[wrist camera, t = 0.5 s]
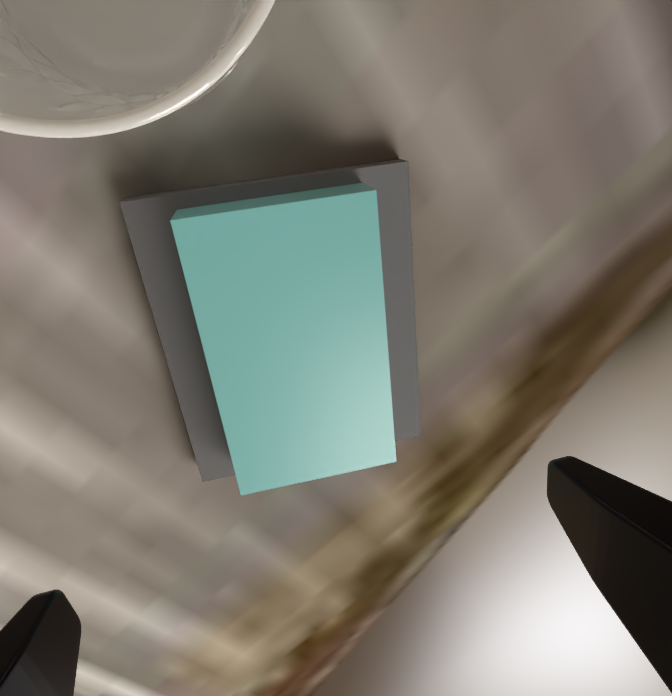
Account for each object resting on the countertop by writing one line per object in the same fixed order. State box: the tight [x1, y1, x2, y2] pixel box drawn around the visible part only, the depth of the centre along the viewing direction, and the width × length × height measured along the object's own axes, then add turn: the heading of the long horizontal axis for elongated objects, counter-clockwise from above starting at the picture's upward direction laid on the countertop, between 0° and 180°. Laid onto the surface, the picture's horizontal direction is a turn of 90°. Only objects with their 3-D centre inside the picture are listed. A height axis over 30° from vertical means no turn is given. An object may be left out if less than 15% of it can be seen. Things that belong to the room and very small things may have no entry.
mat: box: [119, 159, 421, 482], centre depth 20 cm, size 10×12×1 cm
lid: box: [170, 183, 396, 495], centre depth 19 cm, size 6×11×2 cm, turn 6°
